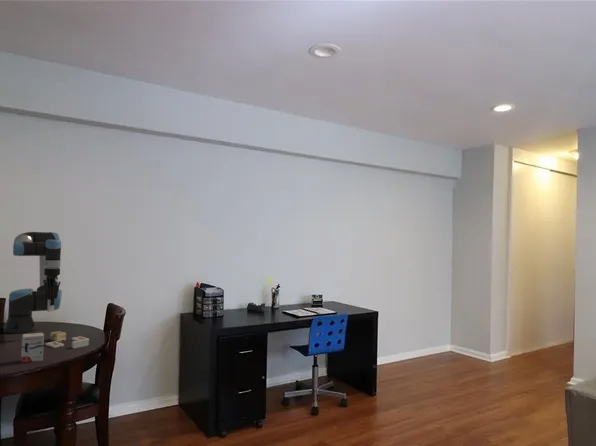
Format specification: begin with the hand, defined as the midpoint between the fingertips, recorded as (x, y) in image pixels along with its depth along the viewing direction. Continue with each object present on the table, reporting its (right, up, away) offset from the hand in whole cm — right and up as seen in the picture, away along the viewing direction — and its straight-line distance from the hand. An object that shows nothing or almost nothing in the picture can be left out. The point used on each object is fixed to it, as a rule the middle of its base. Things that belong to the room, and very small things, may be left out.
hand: (50, 311), depth 246 cm
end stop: (+23, -15, -15) cm, 32 cm away
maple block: (+6, -15, -4) cm, 17 cm away
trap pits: (+14, -15, -9) cm, 22 cm away
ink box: (+13, -15, -40) cm, 45 cm away
